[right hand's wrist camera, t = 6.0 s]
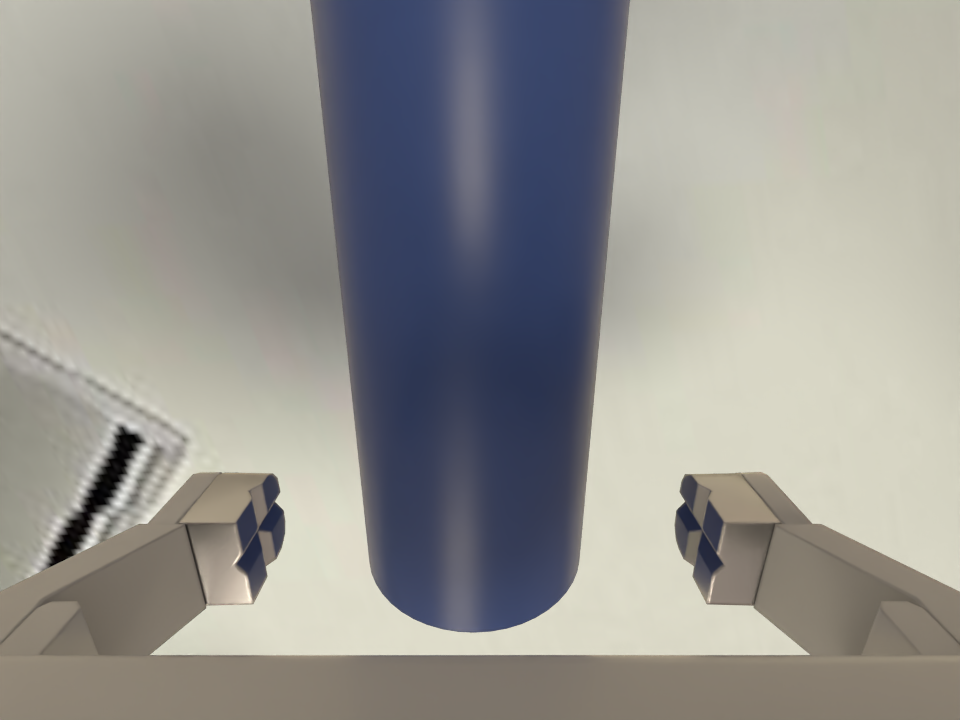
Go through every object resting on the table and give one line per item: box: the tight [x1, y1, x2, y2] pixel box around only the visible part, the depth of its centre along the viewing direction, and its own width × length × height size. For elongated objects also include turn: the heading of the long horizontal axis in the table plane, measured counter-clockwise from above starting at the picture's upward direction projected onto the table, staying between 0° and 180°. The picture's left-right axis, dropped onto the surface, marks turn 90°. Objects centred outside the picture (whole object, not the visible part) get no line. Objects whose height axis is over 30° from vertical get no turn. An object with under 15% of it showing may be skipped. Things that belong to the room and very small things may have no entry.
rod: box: [310, 0, 630, 632], centre depth 11 cm, size 26×6×6 cm, turn 0°
